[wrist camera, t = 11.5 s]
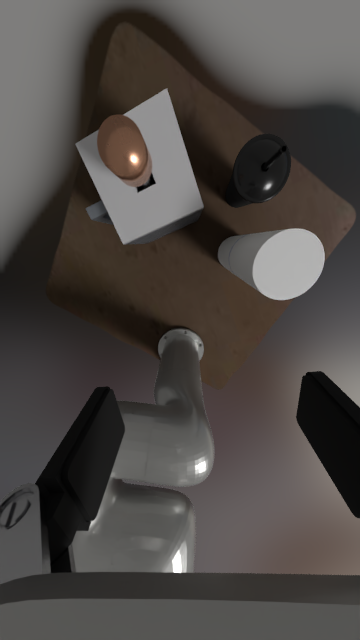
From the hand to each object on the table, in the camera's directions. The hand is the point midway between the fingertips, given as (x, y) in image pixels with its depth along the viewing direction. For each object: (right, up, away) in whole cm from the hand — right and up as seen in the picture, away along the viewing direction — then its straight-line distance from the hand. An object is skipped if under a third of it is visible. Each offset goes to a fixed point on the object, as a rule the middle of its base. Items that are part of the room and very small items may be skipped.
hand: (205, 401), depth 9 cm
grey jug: (-7, +28, +30) cm, 42 cm away
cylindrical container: (+11, +19, +33) cm, 40 cm away
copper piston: (-5, +28, +28) cm, 40 cm away
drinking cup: (+10, +30, +29) cm, 43 cm away
